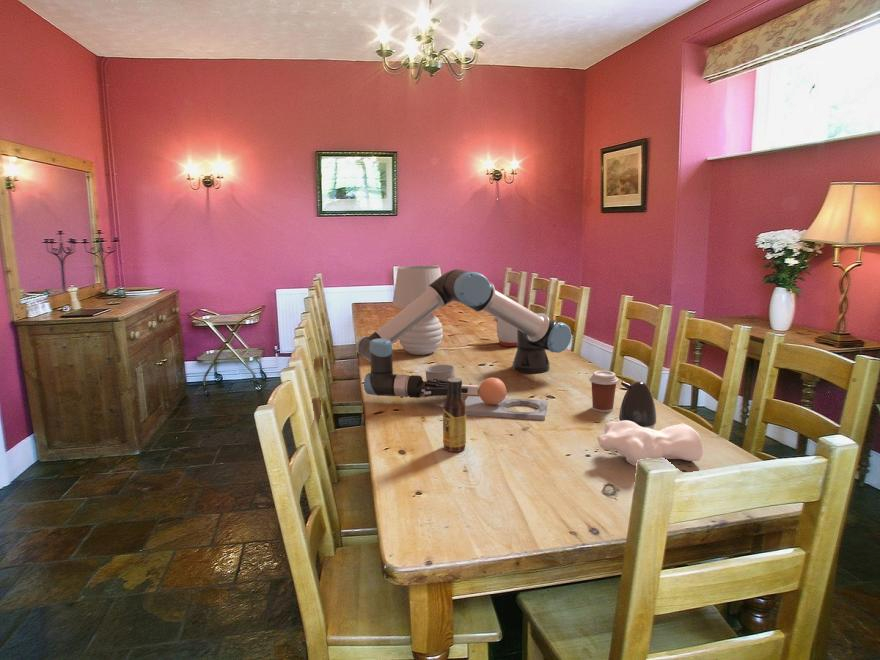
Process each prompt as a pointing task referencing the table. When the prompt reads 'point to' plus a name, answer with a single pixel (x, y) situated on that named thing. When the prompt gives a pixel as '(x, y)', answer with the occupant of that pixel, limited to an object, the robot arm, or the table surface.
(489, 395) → the ball
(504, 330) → the citrus juicer
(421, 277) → the table lamp
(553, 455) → the table surface
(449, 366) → the teacup
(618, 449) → the torso sculpture
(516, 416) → the board
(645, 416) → the black egg shaped figurine
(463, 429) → the sauce bottle
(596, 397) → the coffee cup
